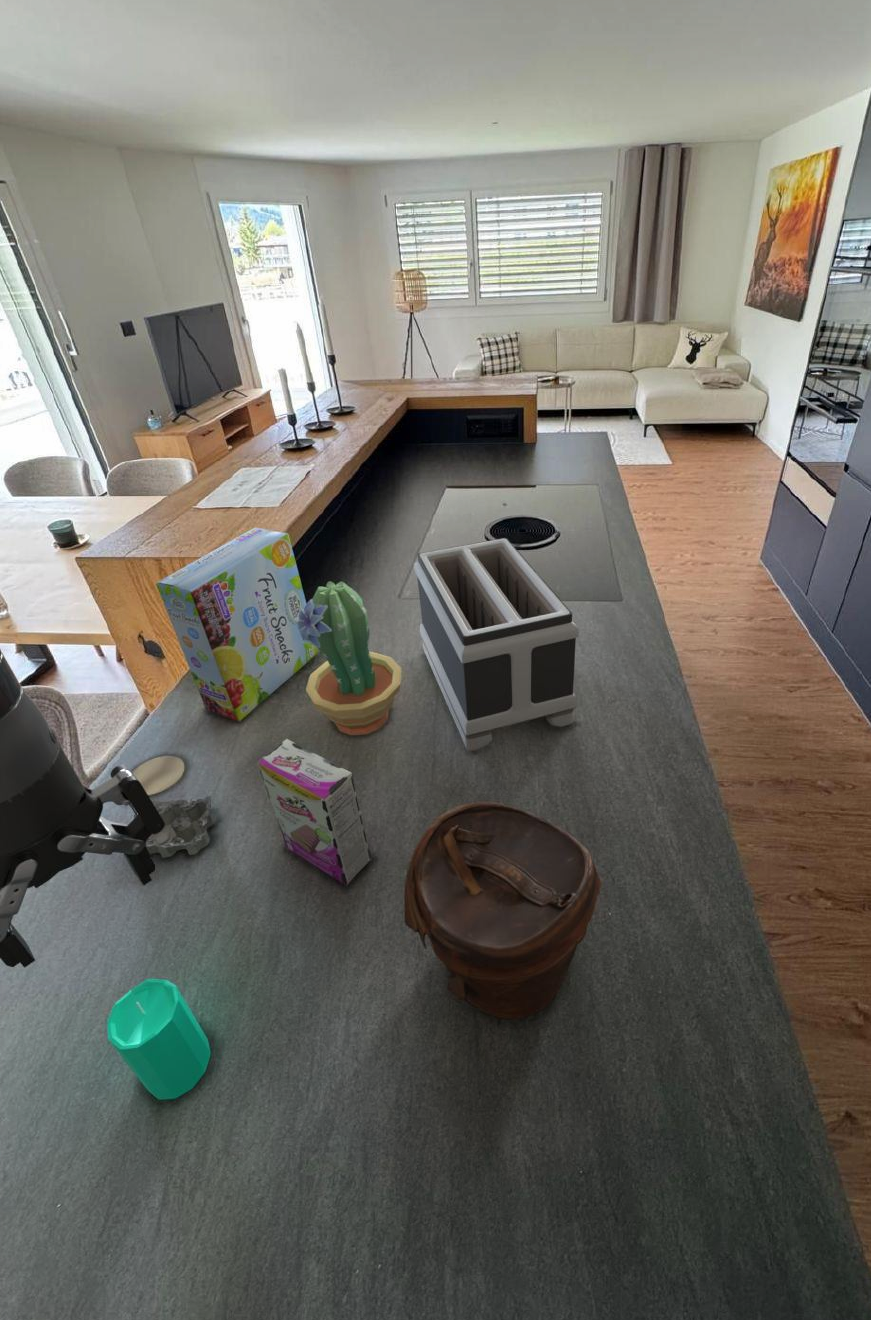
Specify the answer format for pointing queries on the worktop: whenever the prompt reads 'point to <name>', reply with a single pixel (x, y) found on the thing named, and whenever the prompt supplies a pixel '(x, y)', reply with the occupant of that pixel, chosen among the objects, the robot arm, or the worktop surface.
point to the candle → (159, 1038)
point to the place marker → (159, 773)
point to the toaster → (495, 639)
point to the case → (501, 904)
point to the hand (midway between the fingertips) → (88, 914)
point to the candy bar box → (316, 810)
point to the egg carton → (182, 826)
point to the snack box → (239, 620)
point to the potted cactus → (347, 662)
